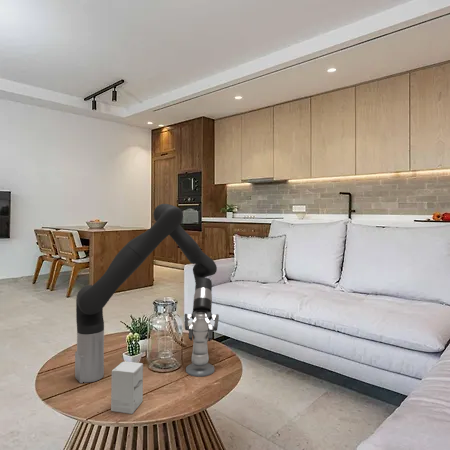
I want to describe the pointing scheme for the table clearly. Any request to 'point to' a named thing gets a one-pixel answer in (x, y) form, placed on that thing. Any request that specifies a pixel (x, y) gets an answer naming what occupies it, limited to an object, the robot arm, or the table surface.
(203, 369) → the coaster
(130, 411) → the supplement box
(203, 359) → the plastic bottle
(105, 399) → the table surface
